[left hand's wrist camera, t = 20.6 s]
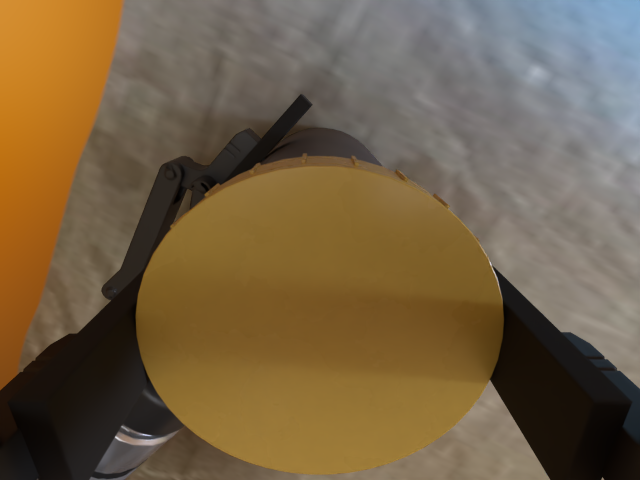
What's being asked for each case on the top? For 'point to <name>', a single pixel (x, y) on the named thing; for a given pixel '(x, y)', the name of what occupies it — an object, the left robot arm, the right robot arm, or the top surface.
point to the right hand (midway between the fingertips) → (373, 167)
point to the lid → (319, 316)
